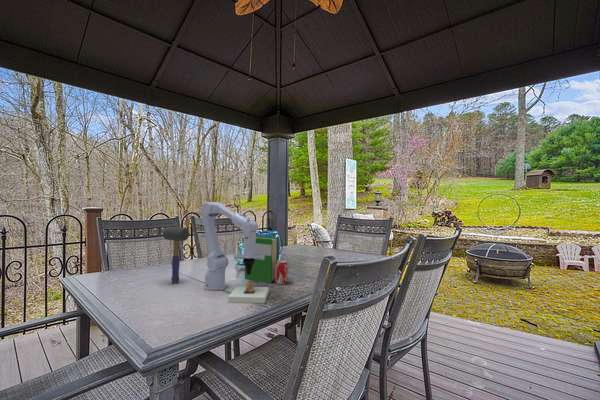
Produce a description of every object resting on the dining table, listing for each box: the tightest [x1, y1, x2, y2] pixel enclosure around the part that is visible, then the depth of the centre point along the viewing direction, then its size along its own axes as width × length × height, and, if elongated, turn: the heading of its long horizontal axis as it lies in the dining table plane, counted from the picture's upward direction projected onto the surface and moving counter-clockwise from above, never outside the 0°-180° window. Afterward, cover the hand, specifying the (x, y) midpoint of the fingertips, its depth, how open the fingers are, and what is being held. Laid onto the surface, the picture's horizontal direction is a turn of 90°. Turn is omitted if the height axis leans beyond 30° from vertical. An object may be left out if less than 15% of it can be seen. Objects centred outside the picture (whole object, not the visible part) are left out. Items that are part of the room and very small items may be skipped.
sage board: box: [227, 286, 270, 304], centre depth 128 cm, size 16×14×2 cm
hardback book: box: [244, 235, 280, 285], centre depth 157 cm, size 18×7×24 cm, turn 63°
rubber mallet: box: [162, 226, 190, 284], centre depth 149 cm, size 12×8×30 cm, turn 72°
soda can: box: [274, 259, 289, 285], centre depth 151 cm, size 7×7×12 cm
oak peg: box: [245, 280, 255, 294], centre depth 128 cm, size 4×4×7 cm
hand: (248, 274), depth 133 cm, fingers closed
